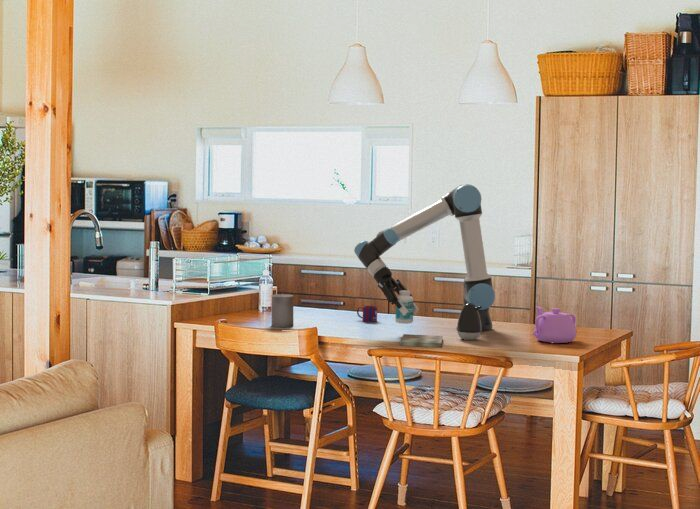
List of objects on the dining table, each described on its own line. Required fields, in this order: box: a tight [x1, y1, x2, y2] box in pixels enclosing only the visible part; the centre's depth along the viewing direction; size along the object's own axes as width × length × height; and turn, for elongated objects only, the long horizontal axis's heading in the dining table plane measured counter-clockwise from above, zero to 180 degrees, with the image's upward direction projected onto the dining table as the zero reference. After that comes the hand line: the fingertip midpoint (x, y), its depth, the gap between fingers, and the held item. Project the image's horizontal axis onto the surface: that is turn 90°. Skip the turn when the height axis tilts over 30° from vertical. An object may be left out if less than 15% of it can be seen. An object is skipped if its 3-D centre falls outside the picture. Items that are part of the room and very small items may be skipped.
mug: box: [356, 305, 378, 323], centre depth 438 cm, size 7×10×7 cm
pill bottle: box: [395, 289, 414, 325], centre depth 395 cm, size 8×7×14 cm
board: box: [399, 333, 443, 348], centre depth 378 cm, size 16×20×2 cm
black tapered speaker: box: [456, 303, 483, 341], centre depth 388 cm, size 10×10×15 cm
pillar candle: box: [271, 293, 294, 328], centre depth 415 cm, size 10×10×15 cm
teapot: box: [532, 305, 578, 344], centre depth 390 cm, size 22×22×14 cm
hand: (411, 312), depth 393 cm, fingers closed on pill bottle, 7 cm apart
